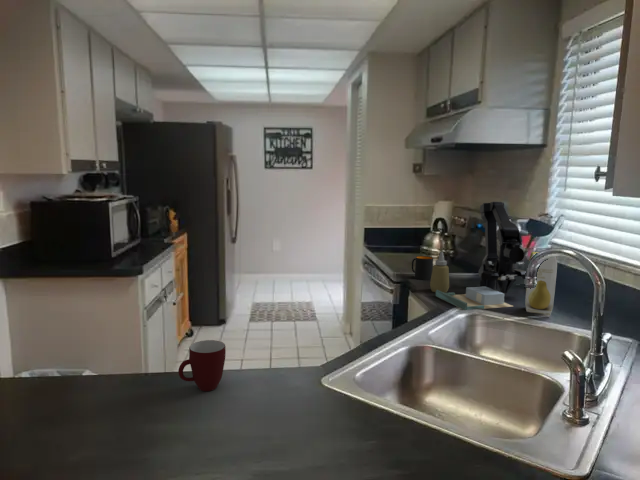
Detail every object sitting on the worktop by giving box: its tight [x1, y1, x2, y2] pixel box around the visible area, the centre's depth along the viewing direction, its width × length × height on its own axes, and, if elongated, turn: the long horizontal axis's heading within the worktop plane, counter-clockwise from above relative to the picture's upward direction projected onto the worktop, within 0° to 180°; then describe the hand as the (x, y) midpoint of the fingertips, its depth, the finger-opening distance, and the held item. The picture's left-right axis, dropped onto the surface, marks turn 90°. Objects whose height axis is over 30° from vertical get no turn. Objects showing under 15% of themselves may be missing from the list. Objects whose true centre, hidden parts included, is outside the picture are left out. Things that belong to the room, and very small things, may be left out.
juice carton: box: [524, 251, 558, 318], centre depth 171 cm, size 9×8×24 cm
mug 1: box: [177, 339, 227, 392], centre depth 106 cm, size 10×8×10 cm
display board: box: [435, 290, 514, 311], centre depth 184 cm, size 22×20×4 cm
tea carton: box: [465, 286, 506, 305], centre depth 185 cm, size 9×12×4 cm
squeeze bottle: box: [429, 251, 450, 293], centre depth 197 cm, size 8×8×18 cm
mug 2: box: [411, 255, 434, 281], centre depth 229 cm, size 8×12×10 cm
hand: (503, 295), depth 188 cm, fingers closed
